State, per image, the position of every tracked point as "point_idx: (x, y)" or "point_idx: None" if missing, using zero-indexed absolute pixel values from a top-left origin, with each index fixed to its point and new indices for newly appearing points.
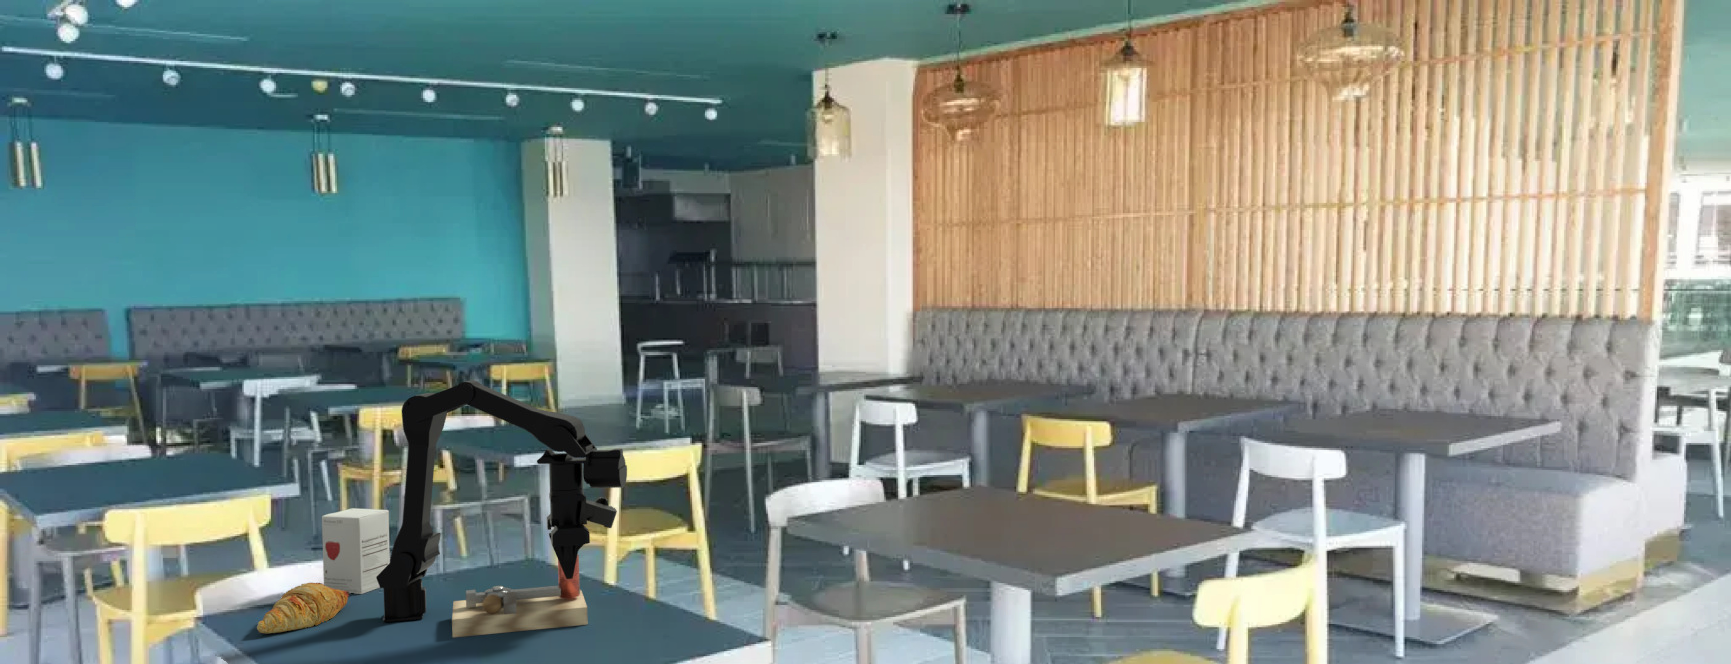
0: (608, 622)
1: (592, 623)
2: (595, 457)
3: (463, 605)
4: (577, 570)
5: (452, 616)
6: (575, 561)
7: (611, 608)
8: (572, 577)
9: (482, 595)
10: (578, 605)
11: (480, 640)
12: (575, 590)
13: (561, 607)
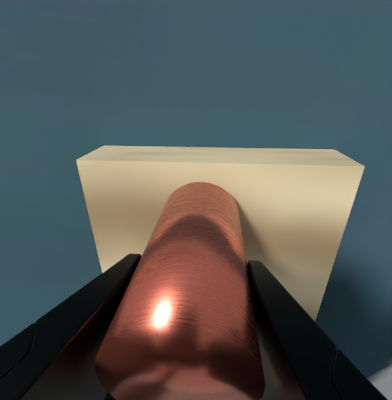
0: (353, 76)
1: (331, 133)
2: None
3: None
4: (230, 255)
5: None
6: (334, 345)
7: (157, 43)
8: (261, 262)
9: None
10: (316, 193)
11: None
12: (235, 211)
13: (311, 244)
